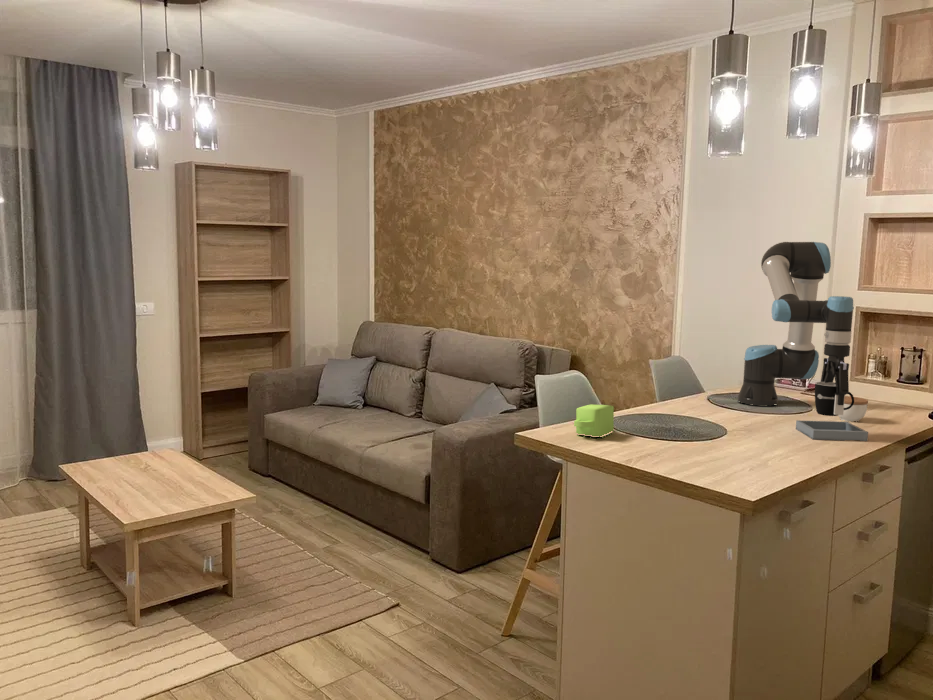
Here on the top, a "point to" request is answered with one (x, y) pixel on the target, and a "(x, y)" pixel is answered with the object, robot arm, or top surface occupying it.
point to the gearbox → (594, 419)
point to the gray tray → (831, 430)
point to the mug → (827, 398)
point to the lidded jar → (854, 409)
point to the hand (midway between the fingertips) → (832, 411)
